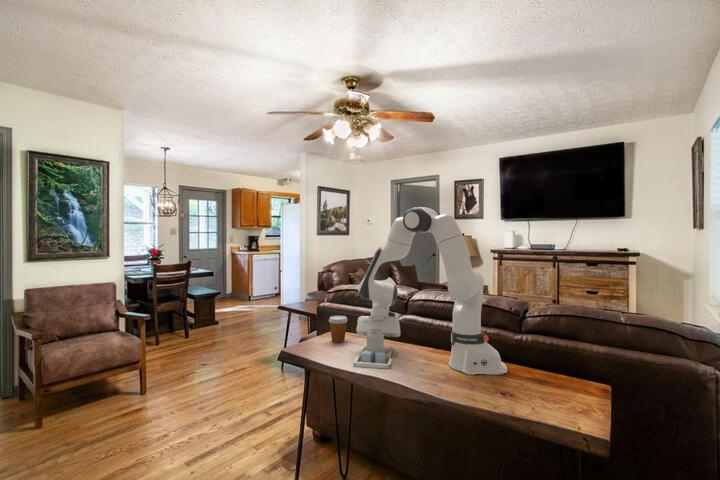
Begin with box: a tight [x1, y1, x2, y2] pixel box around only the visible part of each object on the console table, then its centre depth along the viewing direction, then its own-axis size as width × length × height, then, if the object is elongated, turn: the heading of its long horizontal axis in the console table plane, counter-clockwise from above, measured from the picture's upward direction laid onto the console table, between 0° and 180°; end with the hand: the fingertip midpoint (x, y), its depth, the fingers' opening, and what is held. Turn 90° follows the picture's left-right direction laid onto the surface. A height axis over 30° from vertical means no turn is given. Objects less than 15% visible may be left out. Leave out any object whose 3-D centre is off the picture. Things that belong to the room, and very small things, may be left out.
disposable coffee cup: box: [328, 315, 348, 344], centre depth 181 cm, size 10×10×12 cm
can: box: [366, 329, 385, 352], centre depth 157 cm, size 8×8×12 cm
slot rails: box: [358, 344, 394, 363], centre depth 161 cm, size 13×16×2 cm
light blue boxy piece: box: [373, 350, 387, 364], centre depth 152 cm, size 4×4×4 cm
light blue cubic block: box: [360, 350, 375, 363], centre depth 152 cm, size 4×4×4 cm
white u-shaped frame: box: [352, 355, 393, 370], centre depth 149 cm, size 15×8×2 cm, turn 79°
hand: (376, 343), depth 161 cm, fingers closed, pressing on can
